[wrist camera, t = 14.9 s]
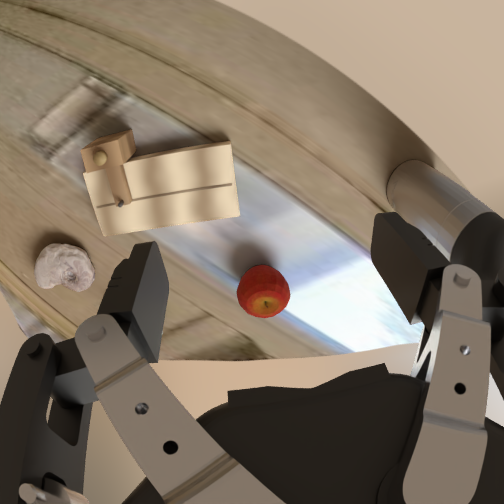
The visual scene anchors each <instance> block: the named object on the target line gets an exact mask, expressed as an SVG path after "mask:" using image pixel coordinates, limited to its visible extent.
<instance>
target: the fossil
mask: <svg viewBox="0 0 504 504" xmlns="http://www.w3.org/2000/svg"><path fill="white" fill-rule="evenodd" d="M34 275H35V279H36V282H37V284H38V285H39V287H42V288H44V289H48V288H53V287H54V286H55V285H59V284H62V285H64V286H65V287H66V288H68V289H71V290H75V291H78V292H79V291H82V290H86V289H87V288H89V287H90V286H91V284H92V283H93V280H94V279H95V269H94V267H93V265H92V264H91V261H90V259H89V257H88V254H87V253H86V252H85V251H84V250H83V249H81V248H79V247H77V246H71V245H69V244H50V245H48V246H46V247H45V248H44V249H43V250H42V251H41V252H40V254H39V256H38V258H37V260H36V263H35V269H34Z"/></svg>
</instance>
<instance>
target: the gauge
mask: <svg viewBox="0 0 504 504" xmlns="http://www.w3.org/2000/svg"><path fill="white" fill-rule="evenodd" d="M80 151H81V154H82V158H83V162H84V165H85V169H86V172H87V173H90V172H94V171H98V170H102V169H105V170H106V173H107V177H108V181H109V184H110V188H111V191H112V194H113V198H114V201H115V204H116V207H122V206H123V205H128V204H130V203H131V202H132V196H131V192H130V189H129V185H128V181H127V177H126V174H125V170H124V166H123V164H124V163H125V162H126V161H127V160H128V159H129V158H130V157H131V156H132V155H133V154H134V153H135V152H136V146H135V142H134V137H133V132H132V129H131V130H127V131H123V132H119V133H115V134H111V135H108V136H104V137H100V138H98V139H96V140H95V141H93V142H92V143H90V144H89V145H87V146H86V147H84V148H83V149H81V150H80Z"/></svg>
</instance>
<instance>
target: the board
mask: <svg viewBox="0 0 504 504" xmlns="http://www.w3.org/2000/svg"><path fill="white" fill-rule="evenodd" d="M123 166H124V170H125V174H126V177H127V181H128V185H129V189H130V192H131V196H132V202H131V203H130V204H128V205H123V206H122V207H116V204H115V201H114V198H113V194H112V191H111V188H110V184H109V181H108V177H107V173H106V170H105V169H102V170H98V171H94V172H90V173H87V172H86V171H85V172H84V173H83V175H84V179H85V182H86V185H87V189H88V192H89V195H90V198H91V201H92V204H93V207H94V210H95V213H96V216H97V219H98V222H99V225H100V228H101V231H102V233H103V236H104V237H106V236H112V235H117V234H123V233H130V232H136V231H142V230H148V229H155V228H161V227H168V226H174V225H181V224H188V223H195V222H202V221H209V220H216V219H223V218H231V217H238V216H240V212H239V204H238V196H237V189H236V181H235V173H234V165H233V157H232V150H231V142H230V141H225V142H217V143H210V144H204V145H197V146H191V147H185V148H179V149H174V150H168V151H163V152H158V153H153V154H148V155H143V156H138V157H134V158H129V159H128V160H127V161H126V162H125V163H124V164H123Z"/></svg>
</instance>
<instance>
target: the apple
mask: <svg viewBox="0 0 504 504" xmlns="http://www.w3.org/2000/svg"><path fill="white" fill-rule="evenodd" d="M237 297H238V301H239V304H240V306H241V307H242V308H243V309H244V310H245V311H246V312H247V313H248V314H250V315H253V316H255V317H261V318H268V317H273V316H275V315H276V314H278V313H280V312H281V311H282V310H283V309H284V308H285V307H286V306H287V304H288V301H289V299H290V290H289V286H288V283H287V281H286V280H285V278H284V277H283V276H282V274H281V273H280V272H279V271H278V270H276V269H274V268H272V267H270V266H268V265H258V266H254V267H252V268H251V269H249V270H248V271H247V272H246V273H245V274H244V275H243V276H242V278H241V280H240V283H239V285H238V288H237Z"/></svg>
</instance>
